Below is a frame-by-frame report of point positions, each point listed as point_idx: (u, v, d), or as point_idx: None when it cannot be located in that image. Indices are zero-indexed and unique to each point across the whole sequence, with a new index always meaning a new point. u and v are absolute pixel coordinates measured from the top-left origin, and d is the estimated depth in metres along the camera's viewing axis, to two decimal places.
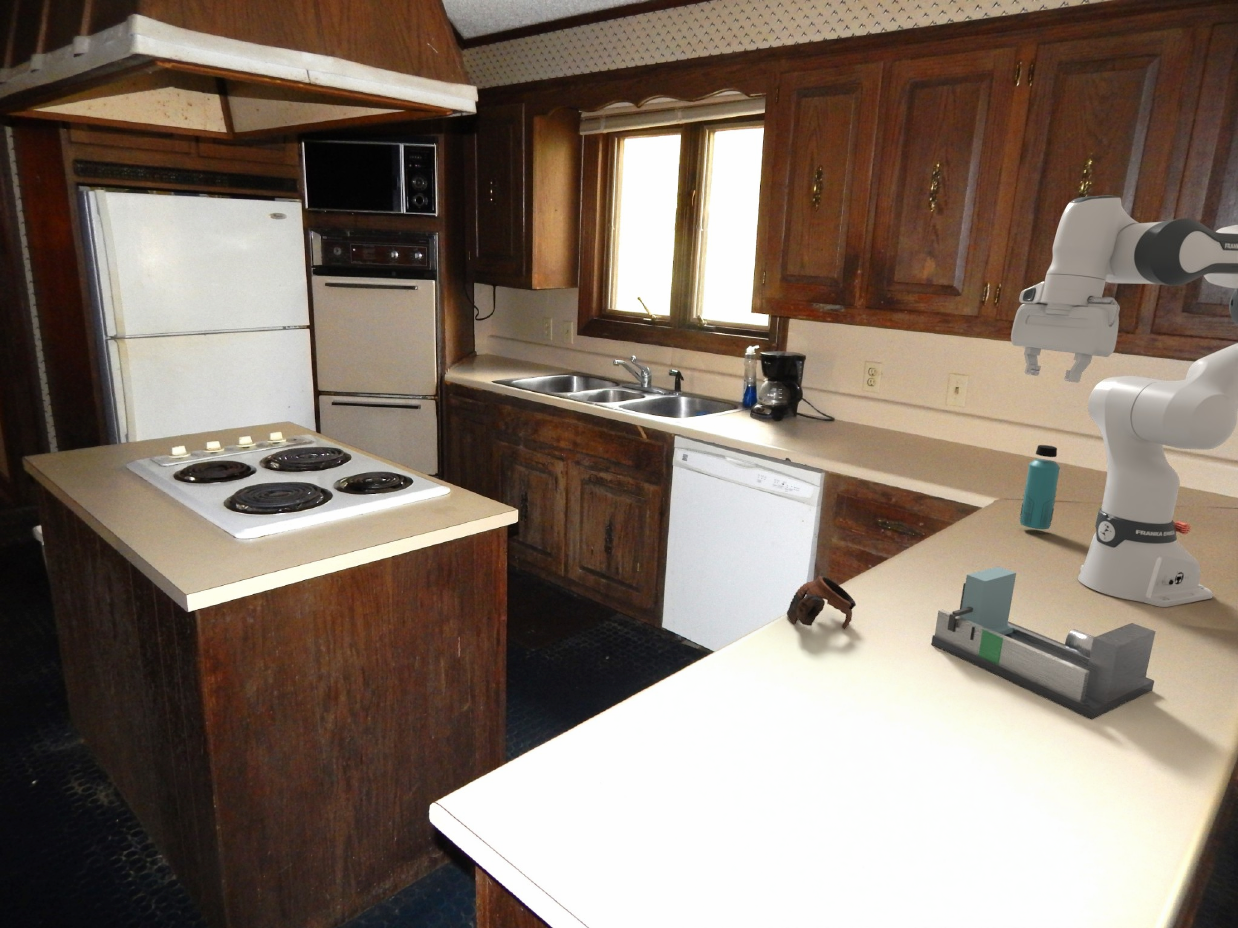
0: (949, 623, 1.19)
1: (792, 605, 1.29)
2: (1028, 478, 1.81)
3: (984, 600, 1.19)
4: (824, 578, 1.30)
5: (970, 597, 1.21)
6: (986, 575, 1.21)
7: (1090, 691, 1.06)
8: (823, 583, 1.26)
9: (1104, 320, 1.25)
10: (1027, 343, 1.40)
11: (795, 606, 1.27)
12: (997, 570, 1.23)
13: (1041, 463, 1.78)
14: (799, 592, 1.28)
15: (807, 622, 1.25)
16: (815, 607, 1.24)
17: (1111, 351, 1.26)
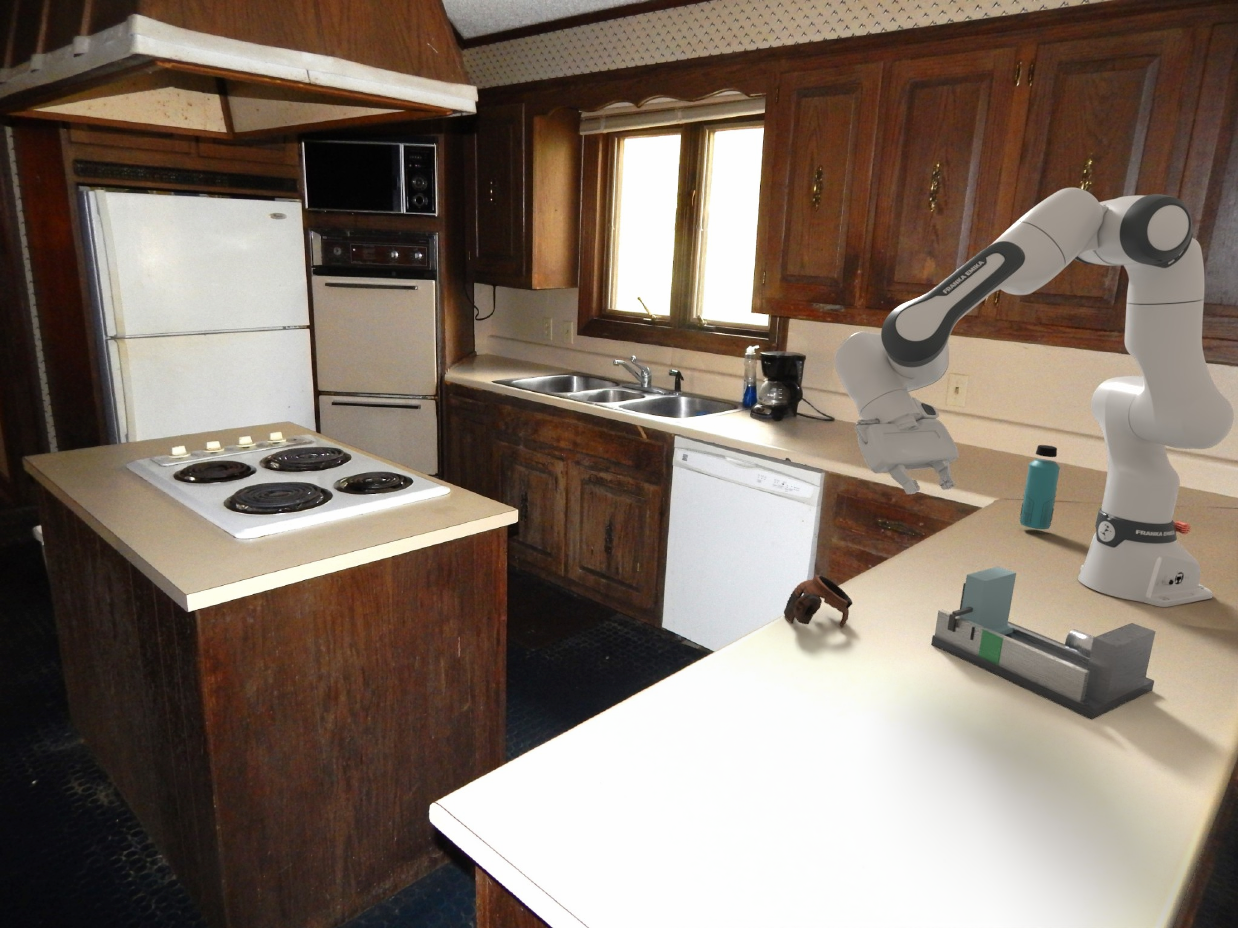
0: (949, 623, 1.19)
1: (789, 604, 1.29)
2: (1028, 478, 1.81)
3: (984, 600, 1.19)
4: (821, 577, 1.30)
5: (970, 597, 1.21)
6: (986, 575, 1.21)
7: (1090, 691, 1.06)
8: (820, 582, 1.27)
9: (860, 443, 1.29)
10: None
11: (792, 605, 1.28)
12: (997, 570, 1.23)
13: (1041, 463, 1.78)
14: (796, 591, 1.28)
15: (804, 621, 1.25)
16: (812, 606, 1.24)
17: (881, 460, 1.25)
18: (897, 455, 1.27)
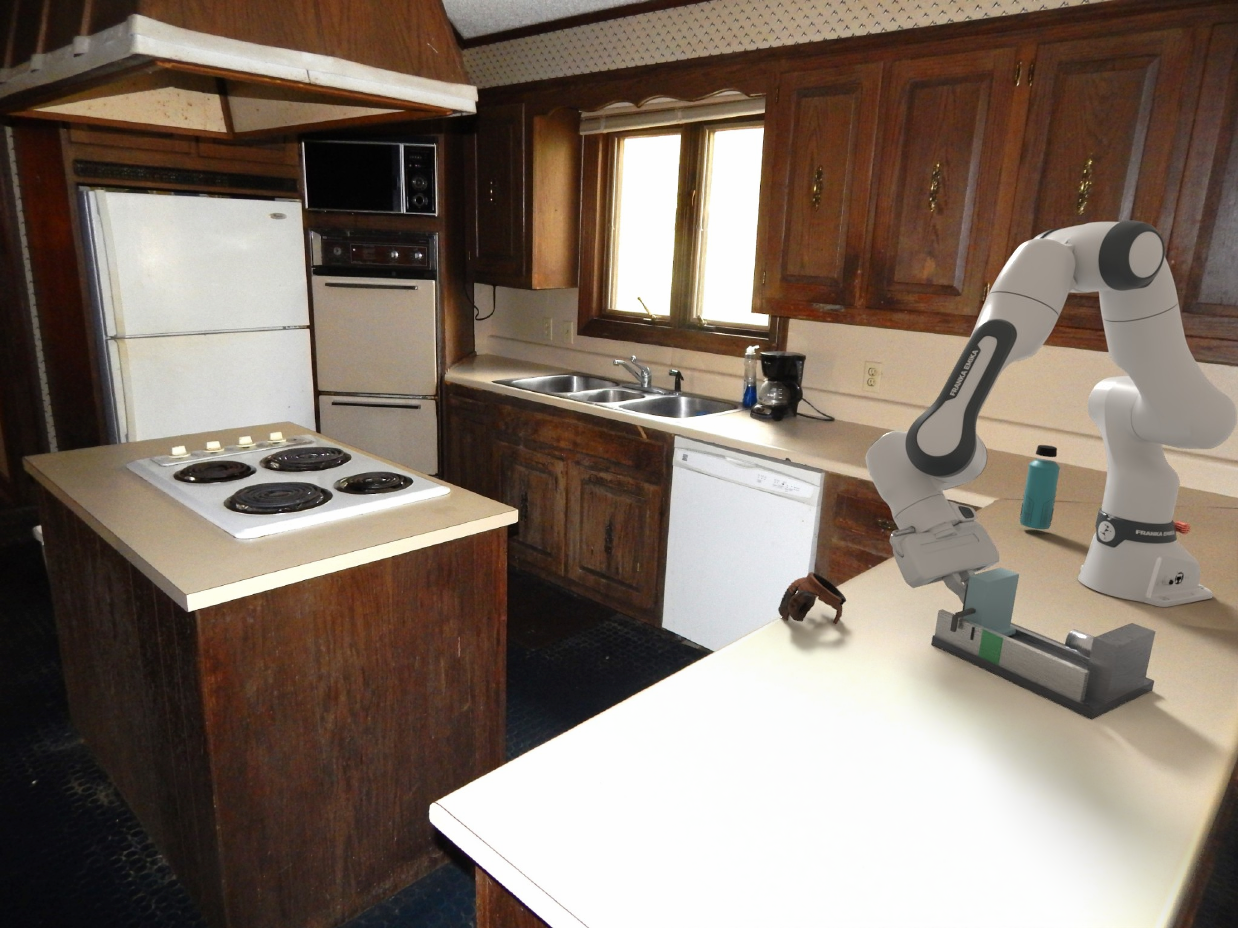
0: (952, 624, 1.18)
1: (783, 601, 1.30)
2: (1028, 478, 1.81)
3: (987, 601, 1.19)
4: (815, 574, 1.31)
5: (973, 598, 1.20)
6: (989, 576, 1.20)
7: (1090, 691, 1.06)
8: (814, 579, 1.27)
9: (895, 556, 1.25)
10: None
11: (786, 602, 1.29)
12: (1000, 571, 1.23)
13: (1041, 463, 1.78)
14: (790, 588, 1.29)
15: (798, 618, 1.26)
16: (806, 603, 1.25)
17: (918, 576, 1.21)
18: (935, 568, 1.22)
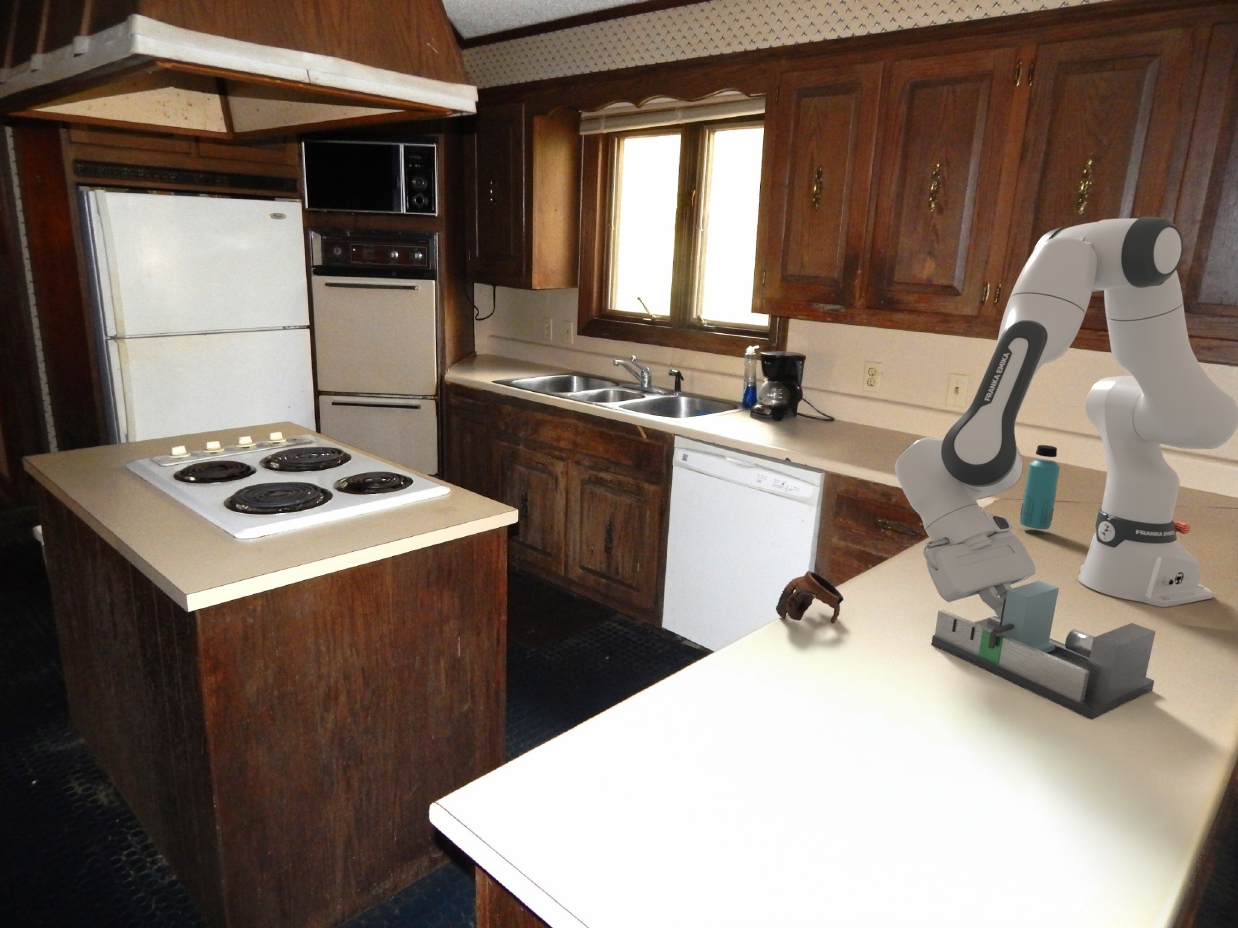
0: (990, 641, 1.13)
1: (781, 600, 1.31)
2: (1028, 478, 1.81)
3: (1027, 616, 1.14)
4: (812, 573, 1.31)
5: (1011, 613, 1.15)
6: (1028, 590, 1.15)
7: (1090, 691, 1.06)
8: (811, 578, 1.28)
9: (929, 568, 1.20)
10: None
11: (784, 601, 1.29)
12: (1038, 585, 1.18)
13: (1041, 463, 1.78)
14: (788, 587, 1.30)
15: (796, 617, 1.27)
16: (804, 602, 1.26)
17: (954, 590, 1.16)
18: (971, 582, 1.17)
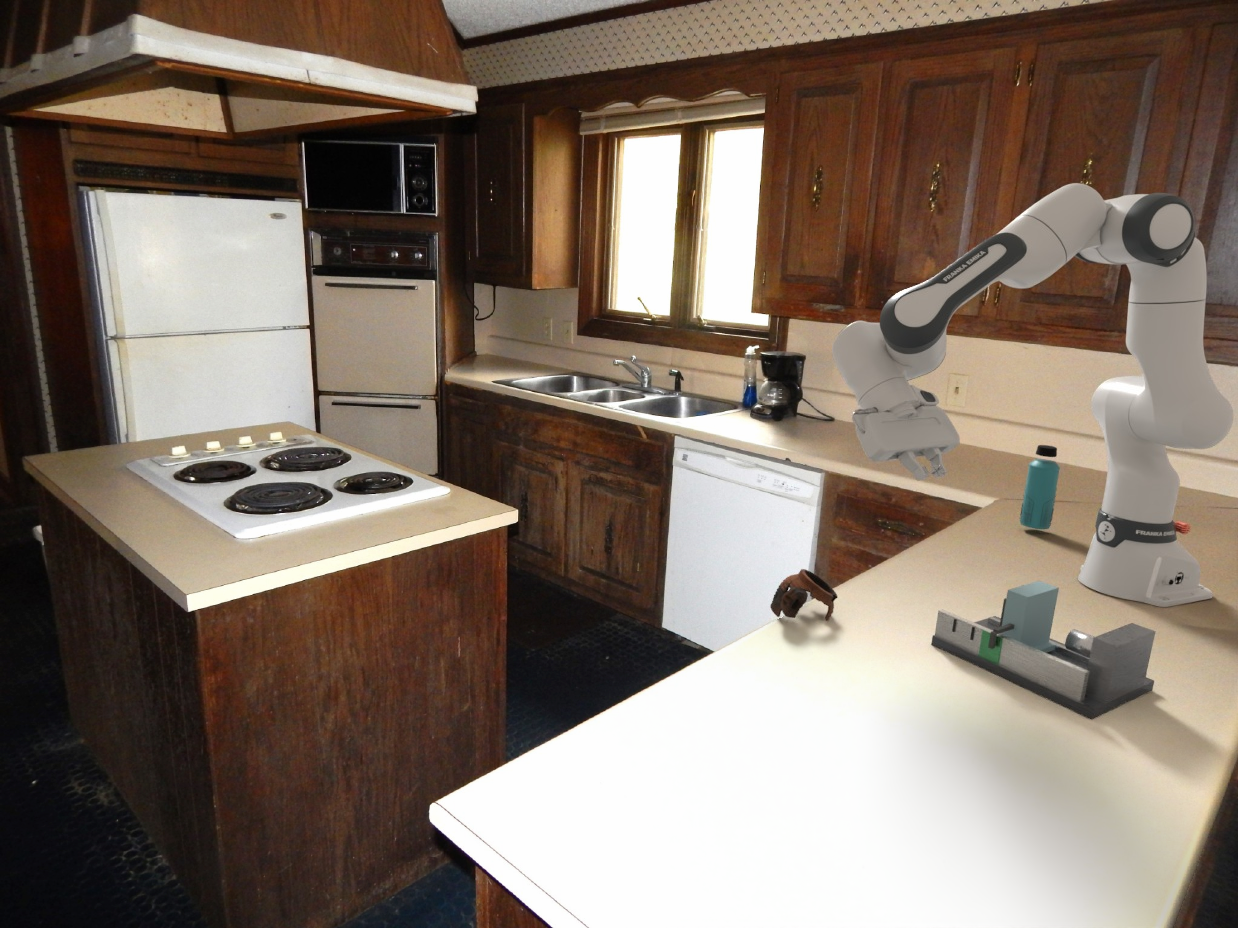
0: (990, 641, 1.13)
1: (775, 598, 1.31)
2: (1028, 478, 1.81)
3: (1027, 616, 1.14)
4: (806, 571, 1.32)
5: (1011, 613, 1.15)
6: (1028, 590, 1.15)
7: (1090, 691, 1.06)
8: (806, 576, 1.29)
9: (857, 433, 1.29)
10: None
11: (779, 599, 1.30)
12: (1039, 585, 1.18)
13: (1041, 463, 1.78)
14: (782, 585, 1.31)
15: (791, 614, 1.27)
16: (798, 600, 1.27)
17: (878, 448, 1.25)
18: (895, 443, 1.27)
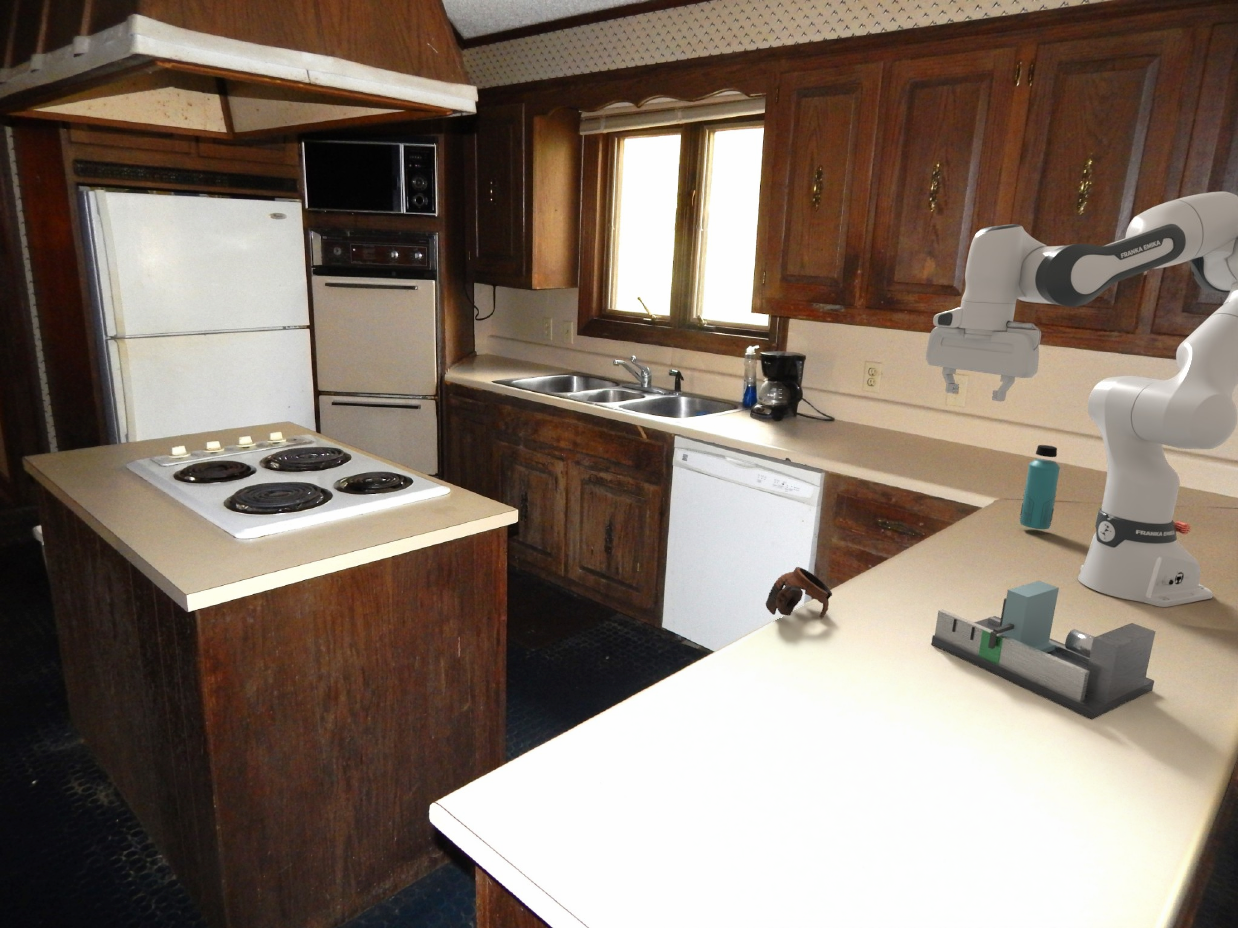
0: (990, 641, 1.13)
1: (771, 596, 1.32)
2: (1028, 478, 1.81)
3: (1027, 616, 1.14)
4: (801, 569, 1.33)
5: (1011, 613, 1.15)
6: (1028, 590, 1.15)
7: (1090, 691, 1.06)
8: (801, 574, 1.30)
9: (1029, 345, 1.35)
10: (946, 364, 1.48)
11: (774, 597, 1.31)
12: (1039, 585, 1.18)
13: (1041, 463, 1.78)
14: (777, 583, 1.31)
15: (786, 612, 1.28)
16: (794, 597, 1.27)
17: (1035, 372, 1.37)
18: None
